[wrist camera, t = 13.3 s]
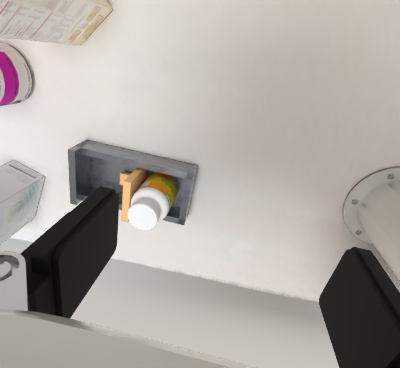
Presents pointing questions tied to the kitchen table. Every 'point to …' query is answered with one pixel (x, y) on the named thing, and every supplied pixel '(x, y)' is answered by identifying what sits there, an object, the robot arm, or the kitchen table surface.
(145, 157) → the grey rectangular tray
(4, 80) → the supplement can
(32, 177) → the skincare box
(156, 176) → the supplement bottle
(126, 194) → the block
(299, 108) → the kitchen table surface
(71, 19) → the coffeecake box
